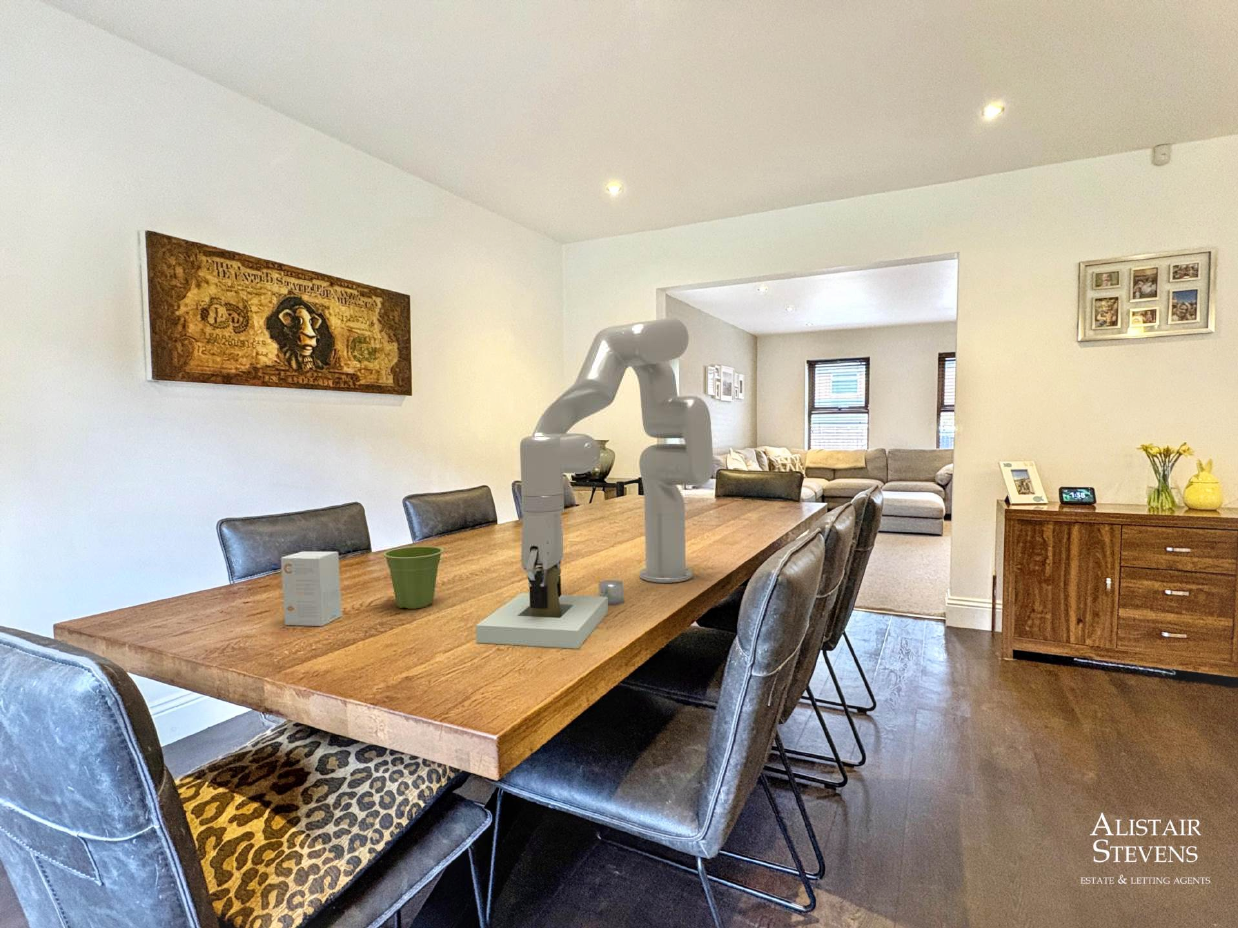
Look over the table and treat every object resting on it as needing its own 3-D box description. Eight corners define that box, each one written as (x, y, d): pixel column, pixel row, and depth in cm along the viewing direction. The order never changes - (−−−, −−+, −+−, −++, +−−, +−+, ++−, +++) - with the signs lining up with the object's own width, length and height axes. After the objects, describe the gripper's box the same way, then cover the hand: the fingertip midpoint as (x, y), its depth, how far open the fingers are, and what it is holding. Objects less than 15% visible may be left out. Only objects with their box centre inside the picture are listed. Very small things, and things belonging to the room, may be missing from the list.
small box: (342, 616, 121) (339, 551, 120) (322, 627, 115) (318, 558, 114) (306, 615, 122) (302, 550, 121) (283, 625, 116) (279, 557, 115)
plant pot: (407, 616, 120) (405, 559, 119) (374, 607, 127) (371, 553, 126) (457, 602, 129) (455, 549, 128) (423, 593, 136) (421, 543, 135)
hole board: (521, 607, 124) (520, 593, 123) (607, 611, 120) (607, 596, 119) (476, 642, 104) (475, 625, 104) (578, 648, 100) (577, 630, 100)
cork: (565, 621, 115) (564, 563, 114) (560, 632, 108) (558, 570, 108) (533, 621, 115) (532, 563, 114) (526, 632, 109) (524, 570, 108)
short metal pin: (602, 598, 130) (602, 579, 129) (625, 599, 128) (625, 580, 128) (596, 605, 125) (596, 585, 125) (620, 606, 124) (620, 586, 123)
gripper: (540, 498, 120) (543, 588, 121) (503, 511, 103) (507, 615, 104) (577, 498, 118) (579, 590, 119) (546, 511, 101) (549, 617, 102)
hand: (546, 601), depth 112 cm, fingers open, 6 cm apart
